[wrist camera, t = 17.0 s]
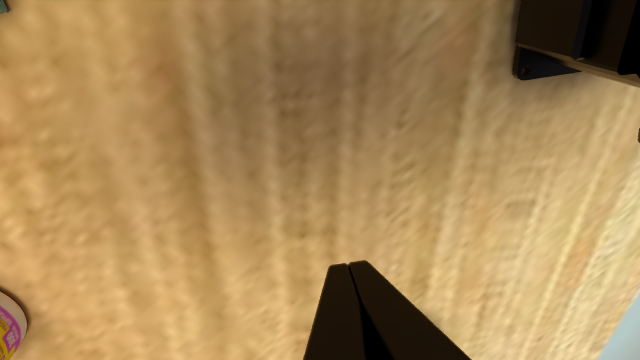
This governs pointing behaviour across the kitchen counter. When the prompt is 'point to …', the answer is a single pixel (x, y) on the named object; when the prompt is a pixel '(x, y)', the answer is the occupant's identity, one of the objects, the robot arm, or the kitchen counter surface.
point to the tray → (3, 7)
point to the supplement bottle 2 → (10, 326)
